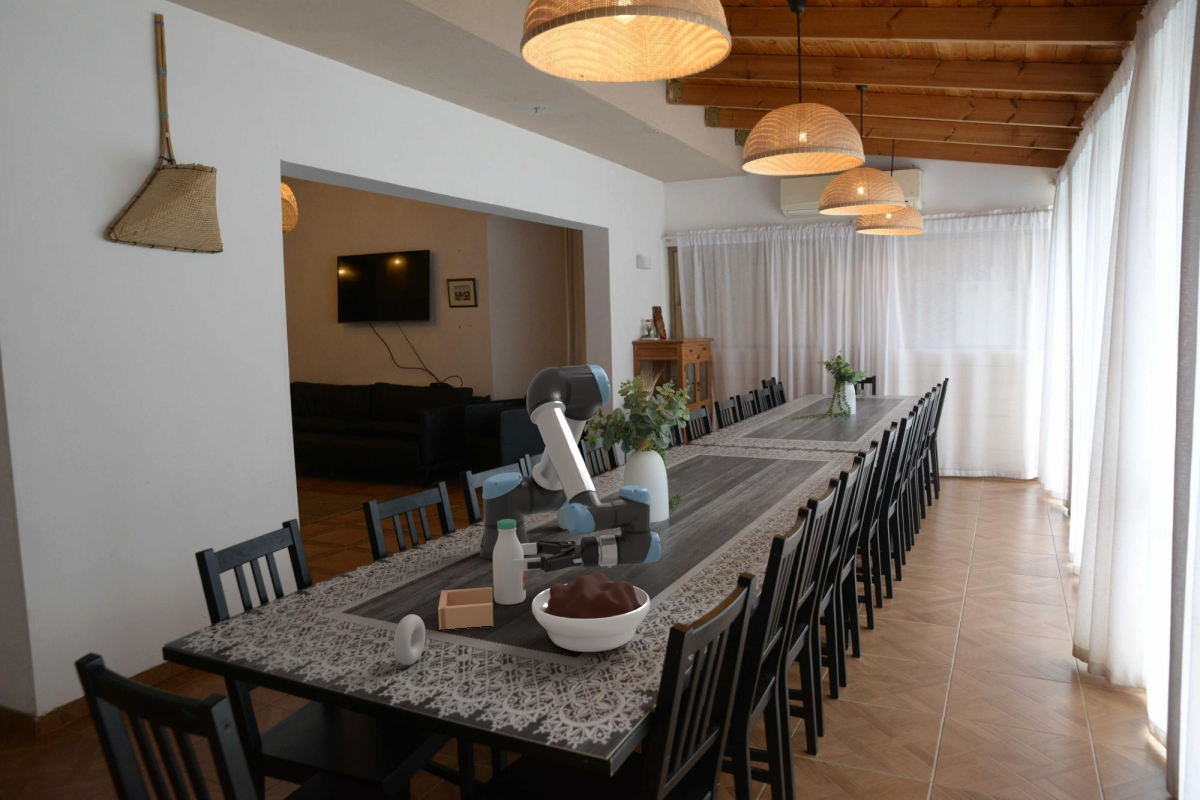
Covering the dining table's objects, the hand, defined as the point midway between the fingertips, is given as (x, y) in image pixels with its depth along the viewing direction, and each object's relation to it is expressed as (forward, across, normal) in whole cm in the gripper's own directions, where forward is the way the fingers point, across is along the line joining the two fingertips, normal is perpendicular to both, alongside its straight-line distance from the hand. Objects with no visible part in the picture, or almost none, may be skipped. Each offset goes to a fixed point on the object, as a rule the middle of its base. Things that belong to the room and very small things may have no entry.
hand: (511, 557), depth 205 cm
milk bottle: (+1, +1, -11) cm, 11 cm away
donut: (+22, -34, -11) cm, 42 cm away
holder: (+10, -10, -11) cm, 18 cm away
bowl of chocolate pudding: (-16, -31, -11) cm, 36 cm away
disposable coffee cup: (-21, +70, -11) cm, 74 cm away
